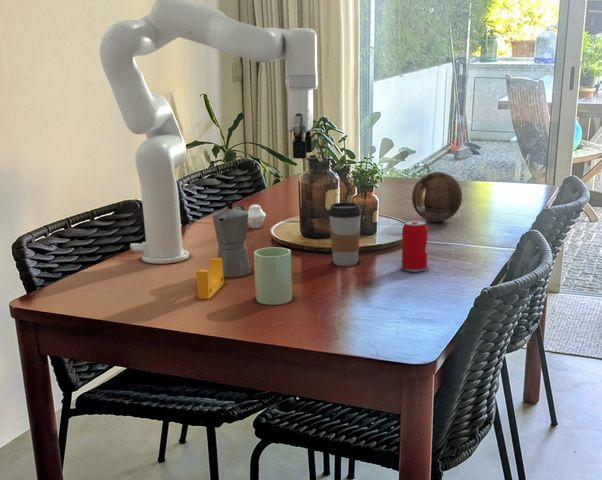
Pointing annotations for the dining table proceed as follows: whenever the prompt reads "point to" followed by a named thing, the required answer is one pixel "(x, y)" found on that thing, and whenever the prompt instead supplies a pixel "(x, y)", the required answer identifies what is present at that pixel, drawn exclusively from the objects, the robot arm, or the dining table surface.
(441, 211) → the wooden sphere
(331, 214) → the coffee cup
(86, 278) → the dining table surface
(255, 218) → the white rounded piece
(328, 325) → the dining table surface
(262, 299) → the tumbler
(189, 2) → the robot arm
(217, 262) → the yellow toy block
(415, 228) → the beverage can
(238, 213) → the coffeepot
